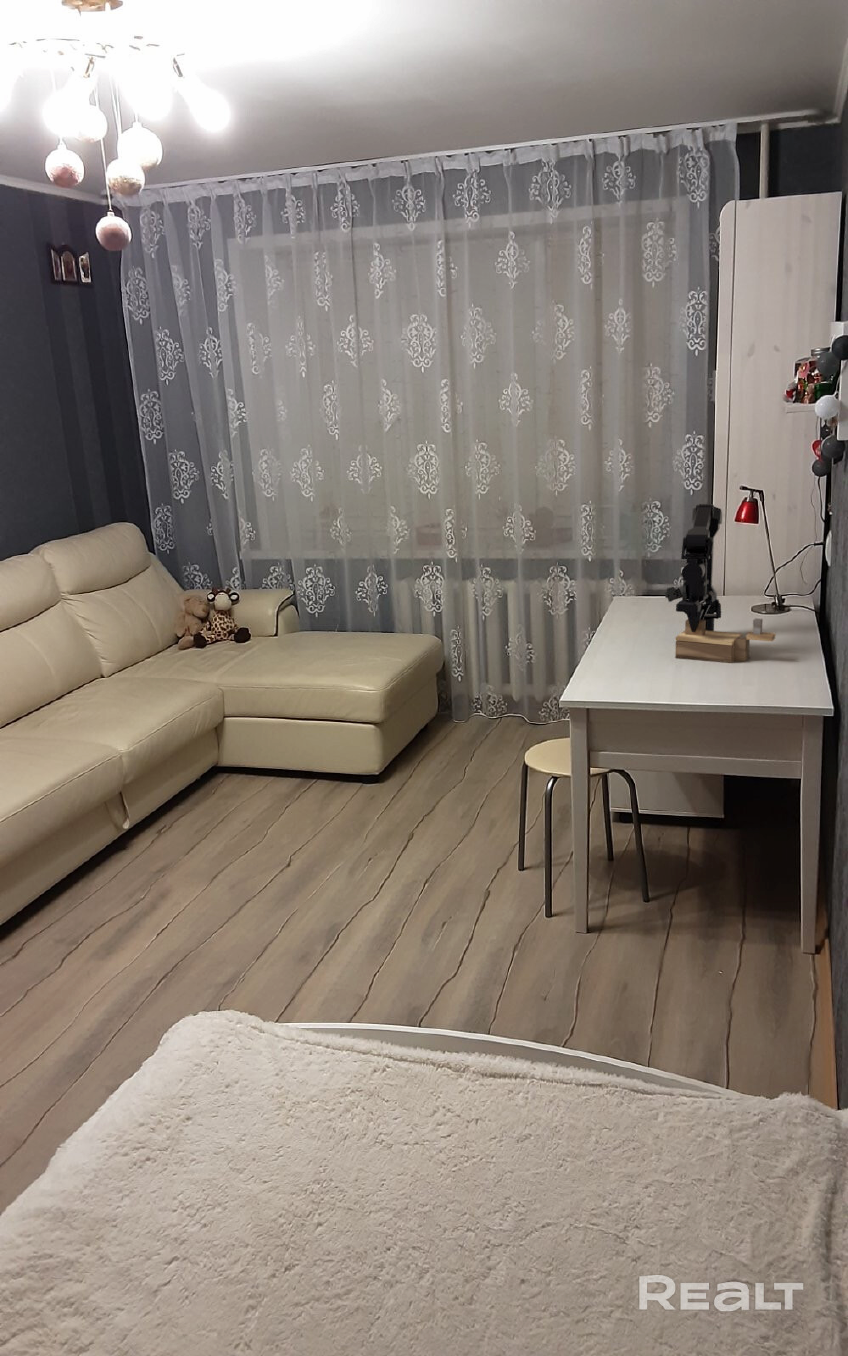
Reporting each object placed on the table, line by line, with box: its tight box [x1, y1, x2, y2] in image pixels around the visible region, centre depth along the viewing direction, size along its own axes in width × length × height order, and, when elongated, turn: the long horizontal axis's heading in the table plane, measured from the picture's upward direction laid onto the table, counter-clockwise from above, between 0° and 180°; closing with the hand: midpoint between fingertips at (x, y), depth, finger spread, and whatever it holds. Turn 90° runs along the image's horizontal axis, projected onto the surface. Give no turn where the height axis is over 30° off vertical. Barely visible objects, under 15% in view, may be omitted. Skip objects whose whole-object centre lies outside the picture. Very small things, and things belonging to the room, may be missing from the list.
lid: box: [675, 619, 743, 645], centre depth 304 cm, size 11×16×5 cm
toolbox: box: [674, 635, 751, 664], centre depth 305 cm, size 11×19×6 cm, turn 60°
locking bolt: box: [746, 617, 776, 642], centre depth 296 cm, size 4×7×6 cm, turn 60°
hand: (695, 630), depth 306 cm, fingers closed on lid, 3 cm apart
